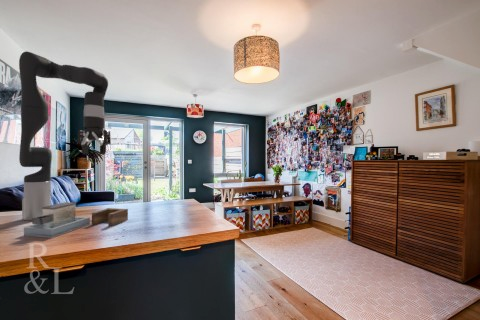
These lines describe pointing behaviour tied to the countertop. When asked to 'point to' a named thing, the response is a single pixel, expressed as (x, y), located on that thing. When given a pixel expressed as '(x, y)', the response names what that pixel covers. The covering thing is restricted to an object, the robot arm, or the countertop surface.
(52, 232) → the tray
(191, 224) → the countertop surface
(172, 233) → the countertop surface
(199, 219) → the countertop surface
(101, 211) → the cubby
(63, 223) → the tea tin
